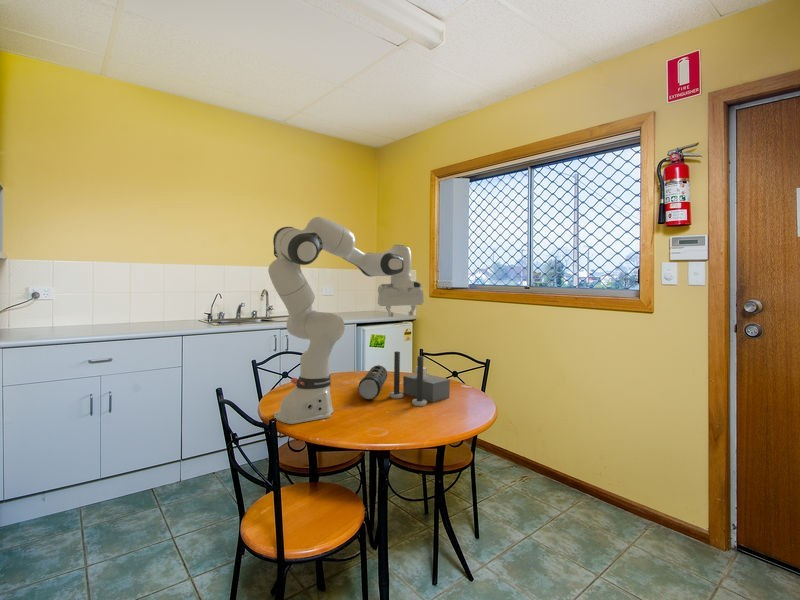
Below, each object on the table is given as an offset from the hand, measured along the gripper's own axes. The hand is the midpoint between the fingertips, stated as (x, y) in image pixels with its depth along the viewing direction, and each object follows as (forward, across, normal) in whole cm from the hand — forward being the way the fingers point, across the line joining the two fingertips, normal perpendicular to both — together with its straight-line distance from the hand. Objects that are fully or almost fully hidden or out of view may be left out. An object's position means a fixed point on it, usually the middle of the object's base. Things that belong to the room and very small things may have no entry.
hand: (400, 316), depth 177 cm
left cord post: (+36, 0, +4) cm, 36 cm away
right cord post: (+36, +4, -9) cm, 38 cm away
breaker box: (+36, +13, +1) cm, 39 cm away
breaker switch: (+28, +10, 0) cm, 30 cm away
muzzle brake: (+36, -7, +14) cm, 40 cm away
